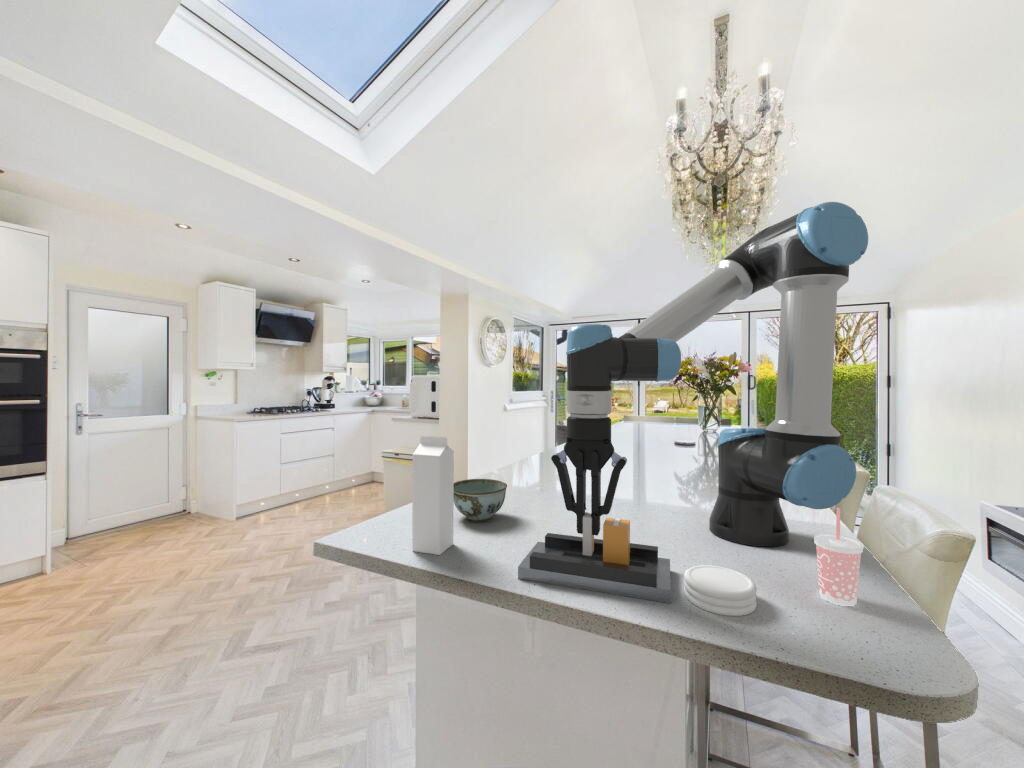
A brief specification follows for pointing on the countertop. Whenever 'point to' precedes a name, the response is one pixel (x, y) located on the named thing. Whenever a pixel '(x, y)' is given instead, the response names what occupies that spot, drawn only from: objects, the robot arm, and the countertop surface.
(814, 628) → the countertop surface
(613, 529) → the lever
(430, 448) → the milk
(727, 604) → the coaster
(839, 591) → the beverage cup
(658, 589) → the panel
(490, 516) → the bowl
